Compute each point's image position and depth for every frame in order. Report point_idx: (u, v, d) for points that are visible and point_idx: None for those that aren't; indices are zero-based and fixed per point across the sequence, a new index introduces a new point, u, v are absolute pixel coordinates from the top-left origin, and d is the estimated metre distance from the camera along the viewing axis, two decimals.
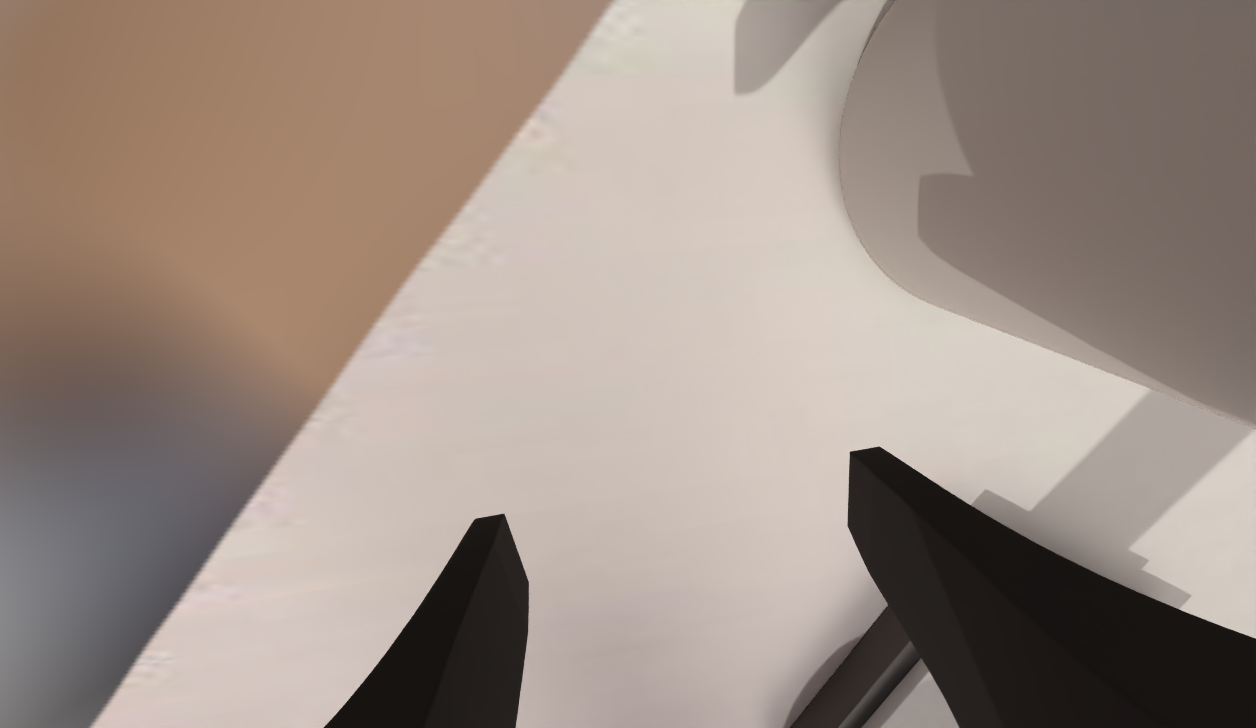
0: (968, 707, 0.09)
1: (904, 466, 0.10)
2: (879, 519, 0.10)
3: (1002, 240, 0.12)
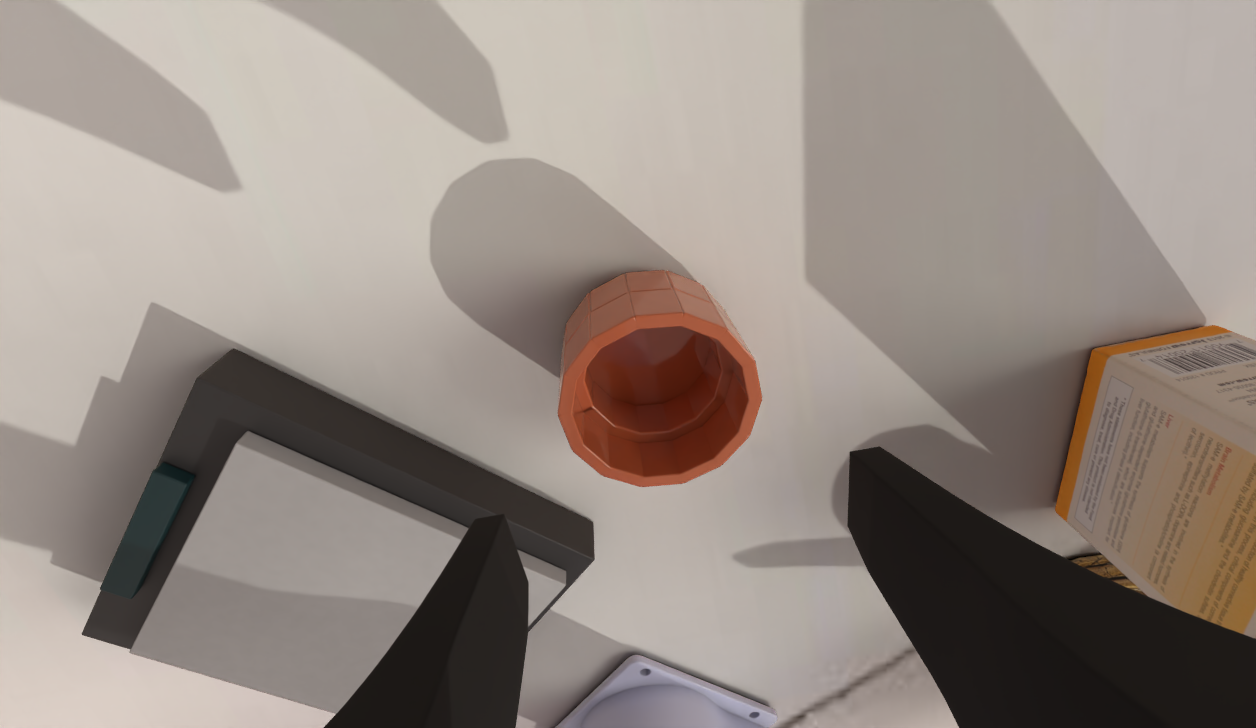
0: (968, 707, 0.09)
1: (904, 467, 0.10)
2: (879, 519, 0.10)
3: None
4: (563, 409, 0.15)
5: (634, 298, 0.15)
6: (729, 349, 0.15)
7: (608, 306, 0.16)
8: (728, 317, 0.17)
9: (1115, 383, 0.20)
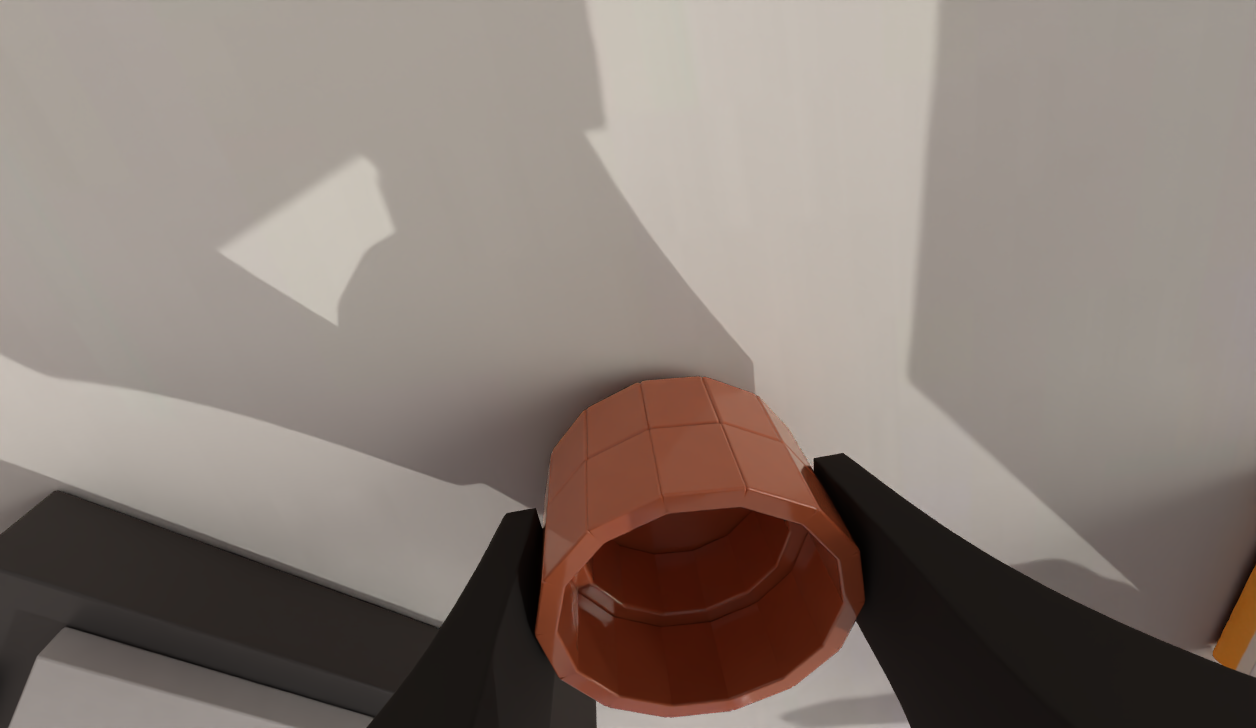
0: (921, 715, 0.09)
1: (864, 473, 0.10)
2: None
3: None
4: (543, 627, 0.09)
5: (659, 446, 0.09)
6: (820, 538, 0.09)
7: (616, 454, 0.10)
8: (798, 447, 0.11)
9: None
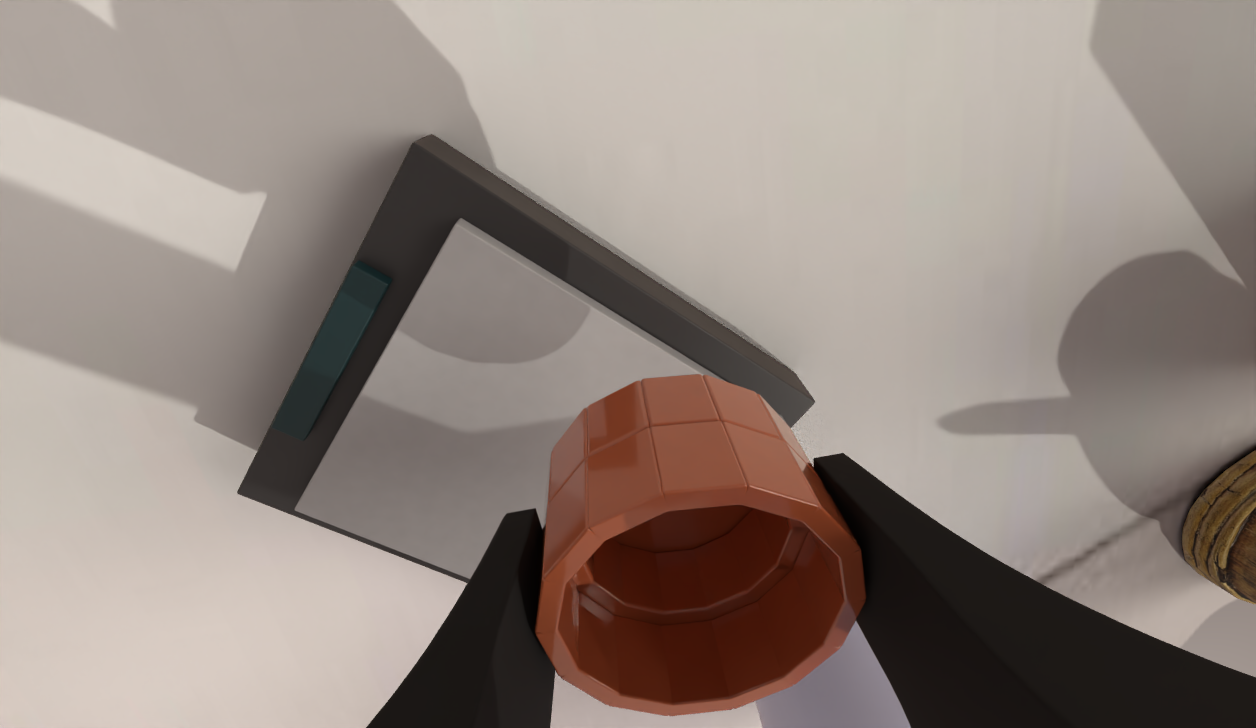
0: (921, 715, 0.09)
1: (864, 473, 0.10)
2: None
3: None
4: (543, 625, 0.09)
5: (659, 443, 0.09)
6: (821, 535, 0.09)
7: (616, 451, 0.10)
8: (799, 445, 0.11)
9: None
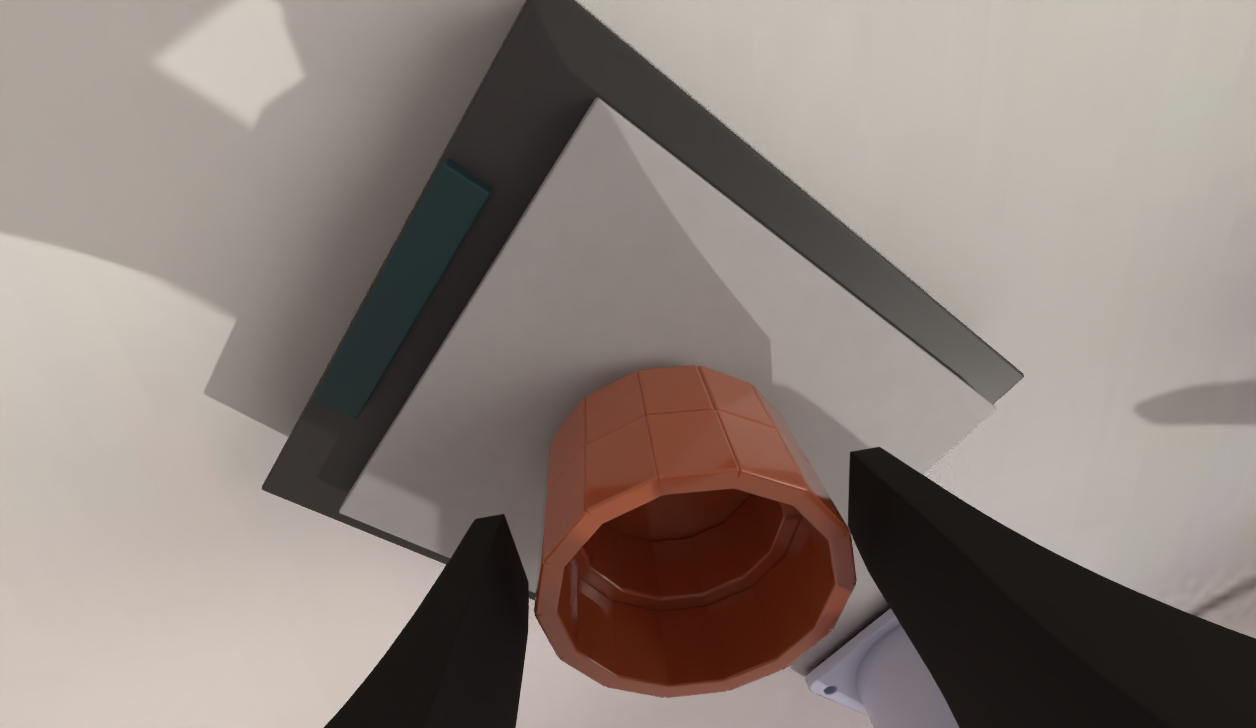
0: (968, 707, 0.09)
1: (904, 467, 0.10)
2: (879, 519, 0.10)
3: None
4: (543, 607, 0.10)
5: (655, 431, 0.10)
6: (811, 519, 0.09)
7: (613, 439, 0.10)
8: (792, 435, 0.12)
9: None
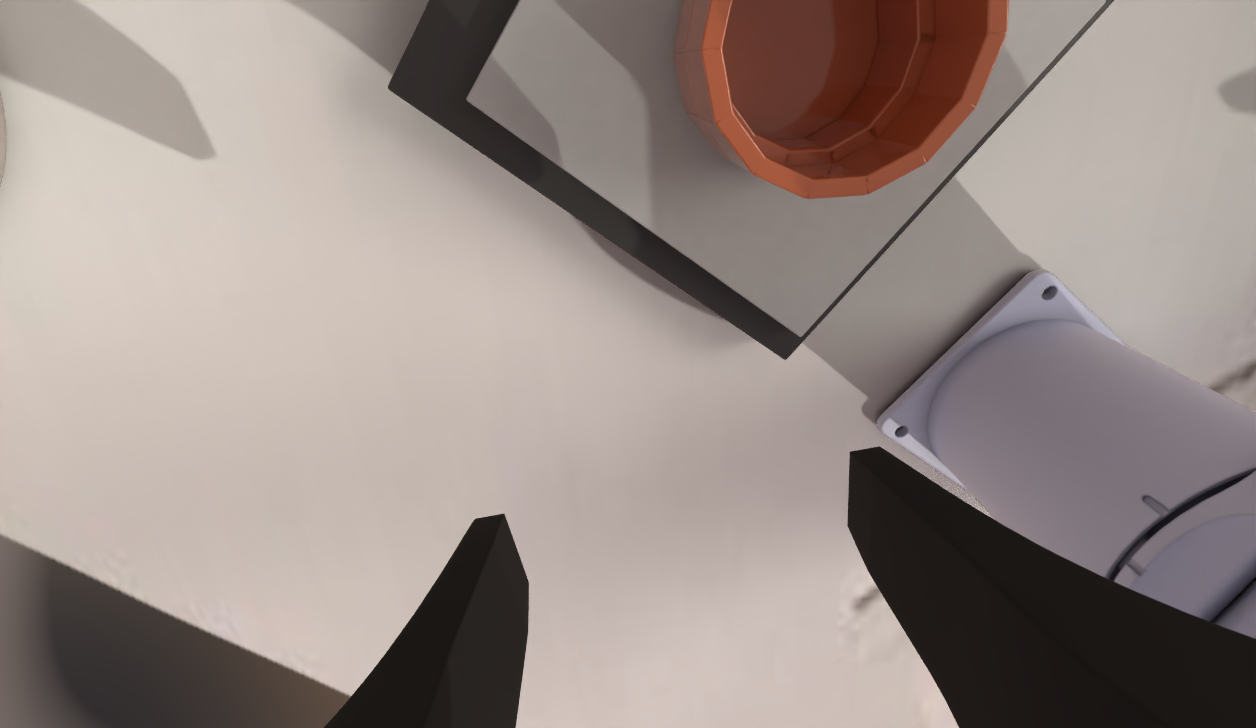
0: (968, 707, 0.09)
1: (904, 466, 0.10)
2: (879, 519, 0.10)
3: None
4: (710, 38, 0.10)
5: None
6: None
7: None
8: None
9: None
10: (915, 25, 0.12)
